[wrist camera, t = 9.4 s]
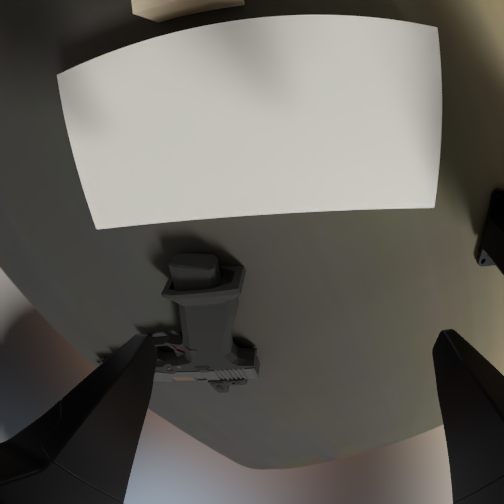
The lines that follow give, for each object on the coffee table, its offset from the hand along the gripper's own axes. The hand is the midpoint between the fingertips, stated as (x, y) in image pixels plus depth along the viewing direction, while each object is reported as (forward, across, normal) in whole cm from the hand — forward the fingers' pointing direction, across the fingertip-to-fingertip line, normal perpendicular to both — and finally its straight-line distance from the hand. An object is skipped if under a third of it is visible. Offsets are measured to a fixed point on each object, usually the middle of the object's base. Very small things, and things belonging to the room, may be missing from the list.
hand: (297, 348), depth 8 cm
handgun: (+12, +13, +12) cm, 22 cm away
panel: (+12, +2, -5) cm, 13 cm away
